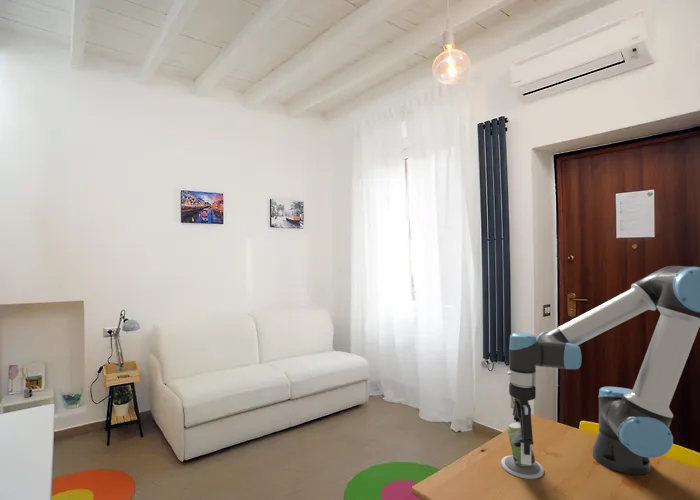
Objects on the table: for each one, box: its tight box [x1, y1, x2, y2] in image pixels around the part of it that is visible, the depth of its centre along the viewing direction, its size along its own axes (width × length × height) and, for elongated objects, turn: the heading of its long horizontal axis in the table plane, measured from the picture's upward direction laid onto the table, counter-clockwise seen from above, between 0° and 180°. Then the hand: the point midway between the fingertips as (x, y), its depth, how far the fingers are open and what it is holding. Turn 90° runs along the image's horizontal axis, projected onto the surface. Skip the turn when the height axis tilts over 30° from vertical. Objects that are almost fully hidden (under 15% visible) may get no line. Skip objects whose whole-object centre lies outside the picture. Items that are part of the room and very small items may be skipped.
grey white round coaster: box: [500, 454, 545, 480], centre depth 120 cm, size 12×12×1 cm
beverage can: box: [507, 421, 536, 466], centre depth 120 cm, size 6×7×12 cm
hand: (522, 452), depth 120 cm, fingers open, 13 cm apart
